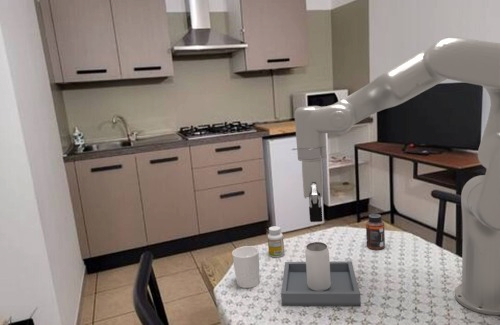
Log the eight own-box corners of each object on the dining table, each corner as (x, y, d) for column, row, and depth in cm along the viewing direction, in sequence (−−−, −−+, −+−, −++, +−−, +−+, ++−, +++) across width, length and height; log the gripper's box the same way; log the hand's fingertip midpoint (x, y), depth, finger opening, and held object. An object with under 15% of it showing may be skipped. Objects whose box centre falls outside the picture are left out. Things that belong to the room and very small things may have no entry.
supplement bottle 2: (387, 249, 123) (386, 217, 120) (369, 251, 123) (368, 219, 121) (381, 242, 128) (380, 212, 126) (364, 243, 129) (363, 213, 127)
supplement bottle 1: (275, 250, 130) (272, 224, 128) (287, 253, 127) (285, 226, 125) (265, 255, 126) (263, 229, 124) (278, 259, 123) (276, 232, 121)
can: (330, 280, 105) (328, 241, 103) (331, 292, 98) (329, 251, 96) (307, 280, 106) (304, 241, 104) (307, 292, 100) (304, 251, 97)
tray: (352, 272, 110) (351, 261, 109) (360, 306, 92) (359, 293, 92) (286, 272, 113) (285, 262, 113) (281, 305, 96) (281, 293, 95)
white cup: (248, 273, 115) (245, 243, 113) (266, 281, 109) (264, 250, 107) (229, 283, 109) (226, 252, 108) (248, 292, 104) (244, 259, 102)
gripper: (298, 149, 105) (302, 206, 108) (296, 160, 88) (301, 227, 91) (324, 147, 103) (328, 204, 107) (328, 158, 87) (332, 226, 90)
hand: (315, 215), depth 99 cm, fingers open, 9 cm apart
